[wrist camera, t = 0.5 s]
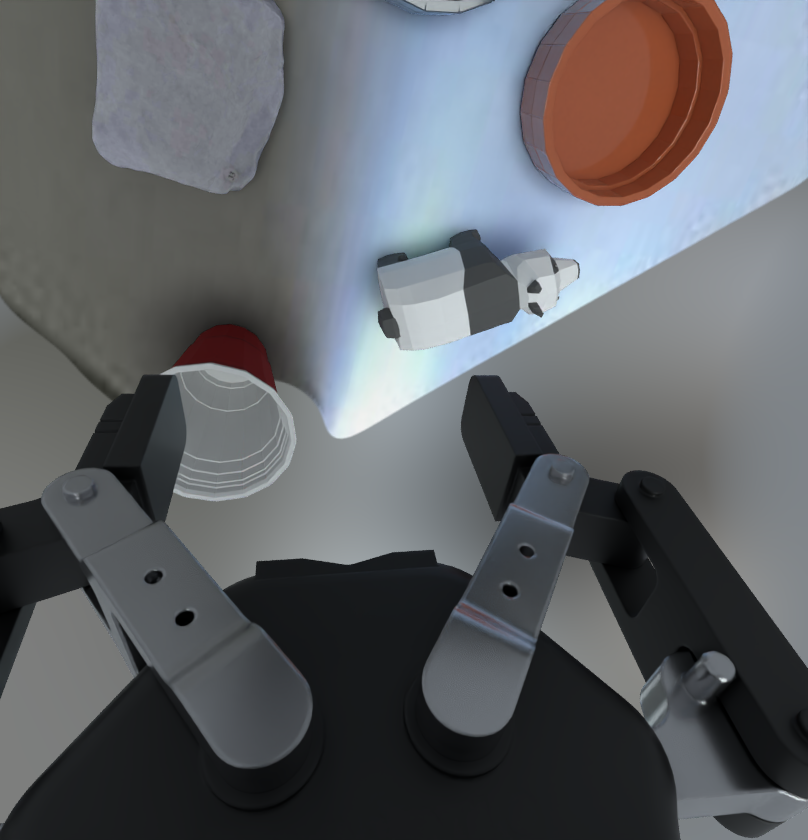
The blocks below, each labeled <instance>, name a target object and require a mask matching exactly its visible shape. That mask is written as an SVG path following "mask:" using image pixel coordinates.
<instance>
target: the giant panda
mask: <svg viewBox="0 0 808 840" xmlns="http://www.w3.org/2000/svg"><path fill="white" fill-rule="evenodd" d="M449 247H450V248H446V249H443V250H440V251H436V252H433V253H430V254H426V255H423V256H419V257H416V258H412V259H408V258H407V256H406V255H405V253H397V254H392V255H388V256H385V257H383V258H381V259H379V260H378V267H377V273H378V281H379V286H380V291H381V296H382V301H383V306H384V309H382V310H380V311H378V323H379V325H380V327H381V329H382V331H383V333H384V334H385V336H386V337H387V338H395V340H396V342H397V343H398V346H399V348H400V350H424V349H428V348H432V347H436V346H440V345H444V344H448V343H451V342H453V341H456V340H459V339H462V338H465V337H468V336H470V335H473V334H476V333H479V332H482V331H485V330H488V329H491V328H494V327H496V326H499V325H502V324H505V323H509V322H512V320H513V319H514V317H515V316H516V314H517V313H518V311H519V310H520V309H522V310H524V311H525V312H526V313H528V314H536V315H538V316H540V317H541V318H542V316H543V314H544V313H543V312H545V311H547V310H549V309H551V308H553V307H555V306H556V303H557V300H558V299H559V293H560V291H561V290H563V289H564V288H565V287H567V286H568V285H570V284H571V283H572V282H574V281H575V280H577V279H578V278H579V273H580V269H579V263H577V262H576V261H575V260H572V259H563V258H552V257H551V256H550V255H549V253H548V252H547V251H546V249H541V250H536V251H530V252H524V253H518V254H513V255H511V256H508V257H506V258H504V259H502V260H499V259H498V258H497V257H496V256H494V255H493V254H492V253H491V252H490V250H489V249H488V248H487V247H486V246H485V245H484V244H483V243H481V242H480V235H479V233H478V231H477V230H469V231H465V232H462V233H459V234H457V235H455V236H453V237H451V238H450V244H449Z"/></svg>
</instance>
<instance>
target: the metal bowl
mask: <svg viewBox="0 0 808 840" xmlns="http://www.w3.org/2000/svg"><path fill="white" fill-rule="evenodd" d="M385 1H387V2H389V3H391V4H393V5H395V6H397V7H399V8H401V9H403V10H405V11H407V12H409V13H412V14H421V15H437V16H444V15H452V14H460V13H463V12H466V11H469V10H472V9H474V8H477V7H480V6H483V5H486V4H489V3H491V2H492V1H495V0H385Z"/></svg>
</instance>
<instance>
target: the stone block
mask: <svg viewBox="0 0 808 840" xmlns="http://www.w3.org/2000/svg"><path fill="white" fill-rule="evenodd" d="M95 23H96V48H97V87H96V104H95V110H94V115H93V121H92V127H93V129H92V139H93V142H94V144H95V147H96V149H97V151H98V153H99V154H100V155H101V156H102V157H103V158H104V159H106V160H107V161H108V162H109V163H111V164H113V165H115V166H118V167H121V168H126V167H127V168H131V169H133V170H136V171H145V172H148V173H152V174H155V175H158V176H161V177H164V178H167V179H170V180H174V181H177V182H179V183H181V184H184V185H188V186H192V187H196V188H199V189H202V190H204V191H207V192H210V193H218V194H226V193H228V192H229V191H230V190H233V191H239V190H240V189H242V188H243V187H244V186H245V185H246V184H248V183H249V182H250V181H251V180H252V179H253V177H254V175H255V173H256V169H257V164H258V160H259V157H260V155H261V153H262V150H263V148H264V146H265V144H266V143H267V141H268V139H269V137H270V133H271V130H272V128H273V126H274V124H275V120H276V118H277V114H278V111H279V108H280V105H281V102H282V99H283V95H284V81H283V73H284V71H283V66H284V55H283V34H284V29H285V23H284V18H283V14H282V13H281V10H280V9H279V7H278V6H277V5H276V3H275V2H274V0H96V20H95Z"/></svg>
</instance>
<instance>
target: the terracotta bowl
mask: <svg viewBox="0 0 808 840" xmlns="http://www.w3.org/2000/svg"><path fill="white" fill-rule="evenodd" d="M731 64H732V48H731V42H730V36H729V30H728V25H727V22H726V19H725V18H724V16H723V14H722V13H721V11H720V9H719V8H718V6H717V4H716V2H715V1H714V0H579V1H578V2H576V3H575V4H574V5H573V6H571V7H570V8H569V9H567V10H566V11H565V12H564V13H562V15H561V16H560V17H559V18H558V20H557V21H556V22H555V24H554V25H553V26H552V28H551V29H550V30H549V32H548V33H547V35H546V36H545V37H544V39H543V40H542V41H541V43H540V45H539V47H538V49H537V52H536V54H535V57H534V59H533V61H532V64H531V66H530V69H529V71H528V73H527V76H526V77H527V78H525V84H524V91H523V97H522V103H521V110H520V113H521V122H522V131H523V140H524V143H525V145H526V148H527V150H528V152H529V154H530V157H531V159H532V161H533V164H534V165H535V167H536V168H537V169H538V170H539V171H540V172H541V173H542V174H543V175H544V176H545V177H546V178H547V179H548V180H549V181H550V182H551V183H553V184H554V185H556V186H558V187H559V188H561V189H563V190H564V191H566V192H568V193H570V194H571V195H573V196H575V197H577V198H579V199H582V200H584V201H587V202H589V203H591V204H594V205H597V206H622V205H626V204H629V203H632V202H635V201H638V200H641V199H644V198H647V197H649V196H651V195H652V194H654V193H655V192H657V191H658V190H660V189H661V188H663V187H664V186H666V185H667V184H669V183H670V182H672V181H673V180H674V179H676V178H677V176H678V175H679V174H680V173H681V172H682V171H683V170H684V169H685V168H686V167H687V166H688V165H689V164H690V163H691V162H692V161H693V160H694V159H695V157H696V156H697V155H698V154H699V152H700V151H701V149H702V147H703V146H704V144H705V142H706V141H707V139H708V137H709V136H710V134H711V133H712V131H713V129H714V128H715V126H716V124H717V122H718V119H719V116H720V113H721V110H722V108H723V105H724V102H725V99H726V96H727V94H728V90H729V82H730V73H731Z"/></svg>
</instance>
